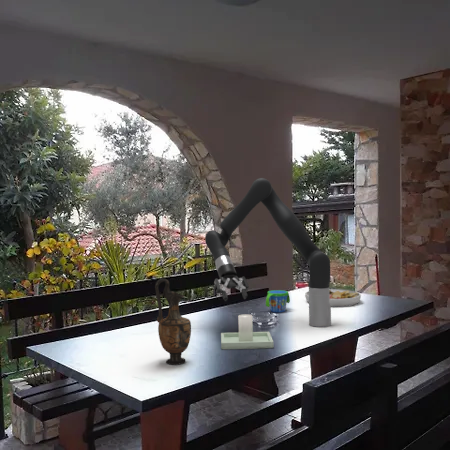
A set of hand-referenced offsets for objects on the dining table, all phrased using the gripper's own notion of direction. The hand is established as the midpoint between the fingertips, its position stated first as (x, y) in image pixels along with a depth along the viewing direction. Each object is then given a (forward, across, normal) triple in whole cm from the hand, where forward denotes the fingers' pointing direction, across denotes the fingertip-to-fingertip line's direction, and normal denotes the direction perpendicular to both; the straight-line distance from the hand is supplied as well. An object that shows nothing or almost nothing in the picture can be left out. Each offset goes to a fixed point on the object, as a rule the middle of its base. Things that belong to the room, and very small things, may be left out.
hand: (236, 298), depth 209 cm
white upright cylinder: (+18, 0, +4) cm, 18 cm away
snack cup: (-14, +38, +38) cm, 56 cm away
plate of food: (-19, +76, +43) cm, 90 cm away
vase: (+26, -33, -3) cm, 42 cm away
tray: (+18, 0, +4) cm, 19 cm away
